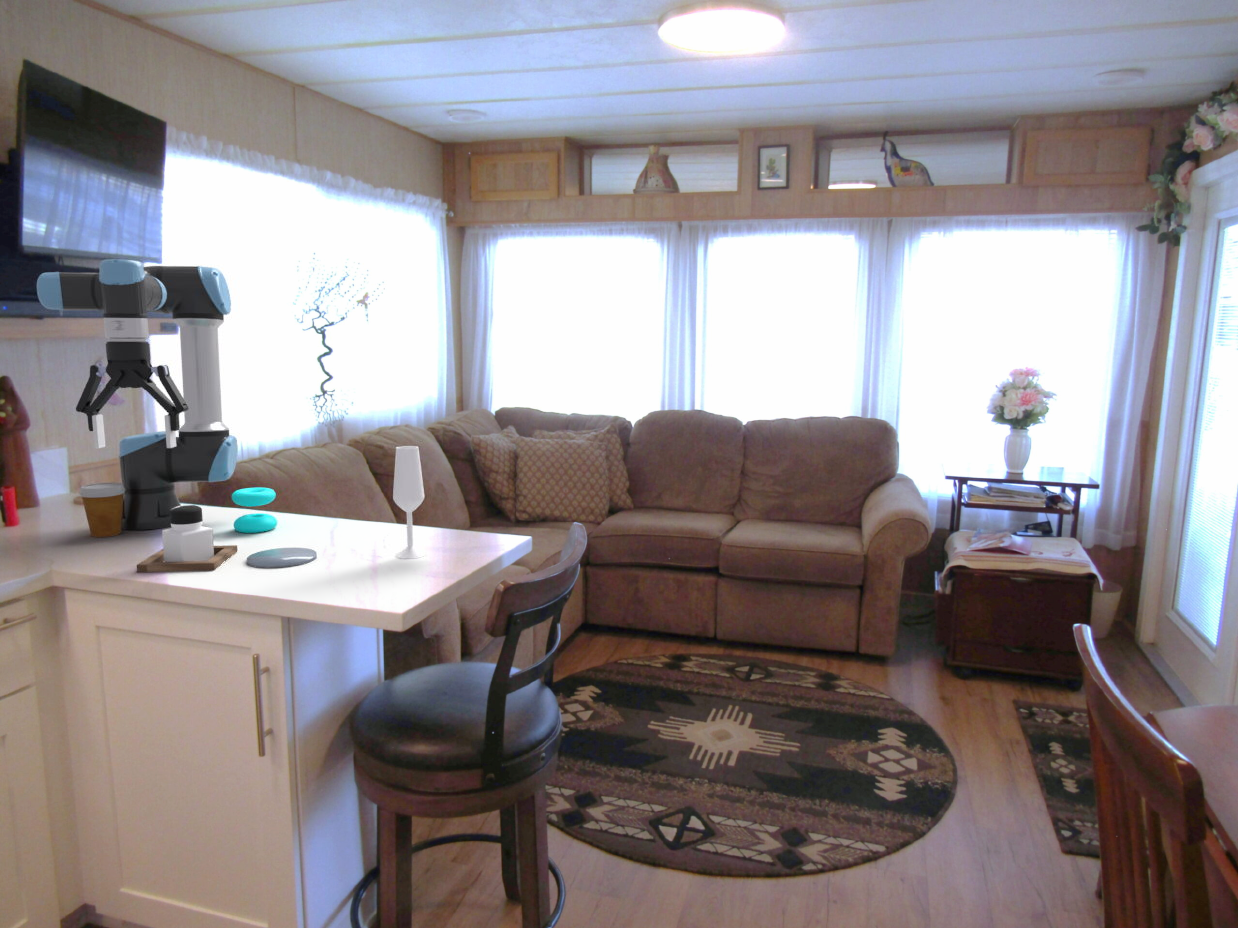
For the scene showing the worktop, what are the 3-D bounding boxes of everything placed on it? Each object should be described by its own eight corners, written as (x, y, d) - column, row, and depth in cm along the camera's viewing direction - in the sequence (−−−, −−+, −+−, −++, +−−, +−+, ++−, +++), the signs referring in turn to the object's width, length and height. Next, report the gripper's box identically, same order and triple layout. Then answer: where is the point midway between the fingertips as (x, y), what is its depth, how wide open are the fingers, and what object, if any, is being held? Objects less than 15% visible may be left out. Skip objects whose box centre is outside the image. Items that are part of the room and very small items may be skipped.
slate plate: (258, 551, 188) (257, 548, 188) (322, 550, 190) (322, 546, 190) (238, 568, 174) (237, 565, 174) (308, 566, 176) (308, 563, 176)
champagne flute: (410, 560, 182) (407, 450, 178) (388, 555, 185) (384, 447, 182) (432, 553, 188) (429, 446, 184) (410, 549, 191) (407, 444, 188)
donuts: (242, 486, 213) (281, 486, 213) (245, 524, 215) (284, 525, 215) (223, 493, 204) (264, 494, 203) (226, 533, 205) (267, 534, 205)
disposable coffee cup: (137, 530, 208) (133, 482, 206) (111, 539, 199) (106, 489, 197) (101, 529, 209) (97, 481, 207) (73, 538, 199) (68, 488, 198)
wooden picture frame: (166, 553, 186) (166, 546, 186) (237, 551, 188) (237, 545, 188) (136, 572, 172) (136, 564, 171) (214, 570, 173) (214, 562, 173)
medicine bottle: (215, 560, 181) (211, 505, 179) (183, 567, 175) (179, 511, 173) (195, 555, 185) (191, 501, 183) (163, 563, 179) (159, 507, 177)
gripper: (49, 340, 161) (59, 450, 164) (186, 341, 163) (193, 449, 167) (70, 339, 168) (80, 445, 171) (201, 340, 171) (208, 444, 174)
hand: (136, 447), depth 169 cm, fingers open, 13 cm apart
